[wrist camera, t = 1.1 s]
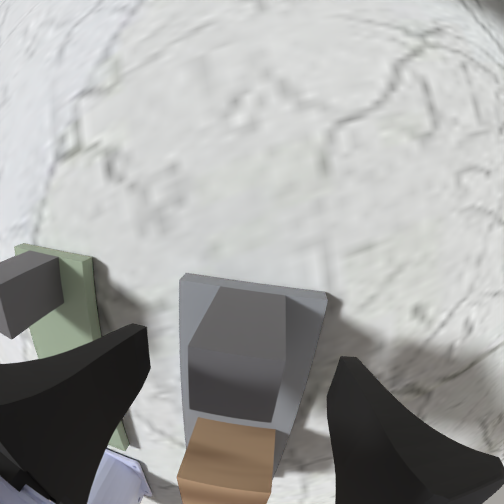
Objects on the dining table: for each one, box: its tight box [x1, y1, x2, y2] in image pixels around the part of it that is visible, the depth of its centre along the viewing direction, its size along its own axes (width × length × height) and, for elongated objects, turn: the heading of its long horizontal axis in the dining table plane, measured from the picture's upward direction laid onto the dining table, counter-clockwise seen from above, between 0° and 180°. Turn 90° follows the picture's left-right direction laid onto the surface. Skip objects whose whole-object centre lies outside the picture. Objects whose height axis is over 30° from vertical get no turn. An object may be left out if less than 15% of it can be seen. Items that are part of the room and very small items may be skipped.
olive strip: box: [0, 243, 129, 451], centre depth 14 cm, size 18×7×6 cm, turn 174°
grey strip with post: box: [179, 273, 328, 480], centre depth 13 cm, size 18×7×6 cm, turn 174°
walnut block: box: [177, 417, 276, 504], centre depth 14 cm, size 5×5×5 cm
